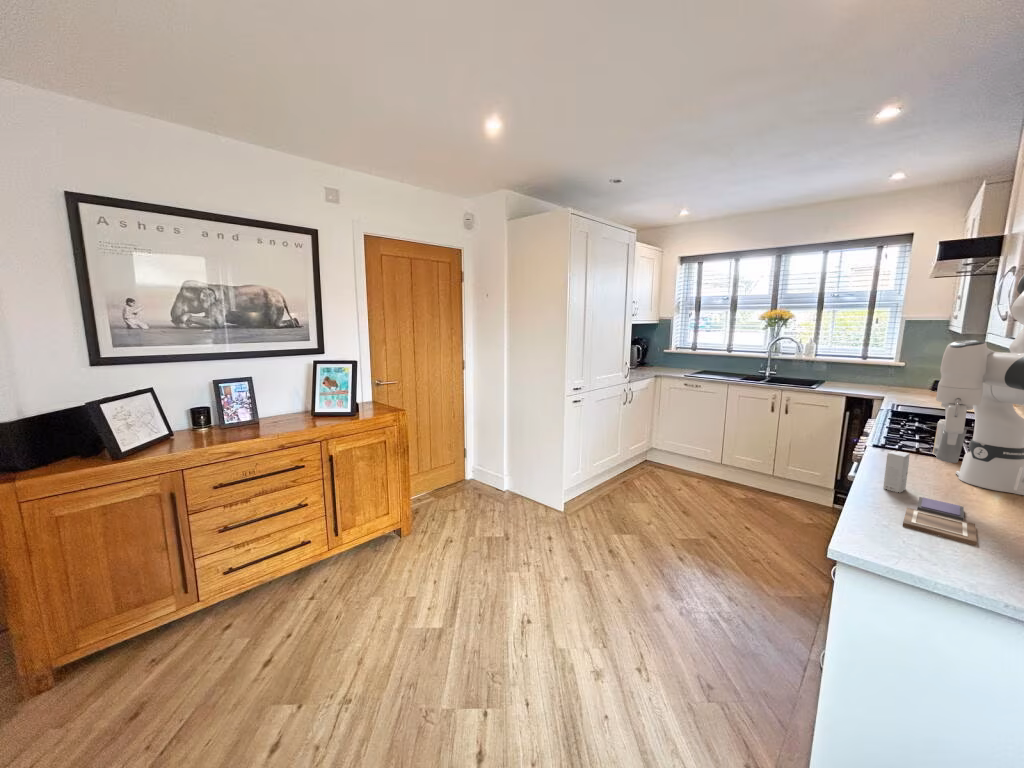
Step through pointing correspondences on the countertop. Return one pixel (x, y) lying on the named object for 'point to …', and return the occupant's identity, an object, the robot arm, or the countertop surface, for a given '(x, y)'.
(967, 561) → the countertop surface
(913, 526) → the marked board
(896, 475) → the skincare box
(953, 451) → the planter
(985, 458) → the robot arm
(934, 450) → the white and yellow box
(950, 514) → the ink pad
